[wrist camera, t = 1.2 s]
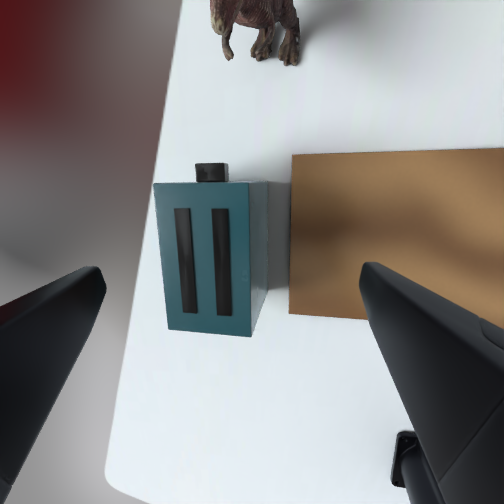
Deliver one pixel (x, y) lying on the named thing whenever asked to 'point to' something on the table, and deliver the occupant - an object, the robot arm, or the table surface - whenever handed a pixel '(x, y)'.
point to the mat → (398, 227)
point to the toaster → (213, 251)
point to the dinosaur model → (258, 25)
